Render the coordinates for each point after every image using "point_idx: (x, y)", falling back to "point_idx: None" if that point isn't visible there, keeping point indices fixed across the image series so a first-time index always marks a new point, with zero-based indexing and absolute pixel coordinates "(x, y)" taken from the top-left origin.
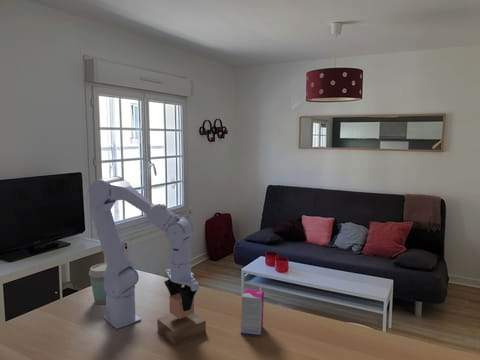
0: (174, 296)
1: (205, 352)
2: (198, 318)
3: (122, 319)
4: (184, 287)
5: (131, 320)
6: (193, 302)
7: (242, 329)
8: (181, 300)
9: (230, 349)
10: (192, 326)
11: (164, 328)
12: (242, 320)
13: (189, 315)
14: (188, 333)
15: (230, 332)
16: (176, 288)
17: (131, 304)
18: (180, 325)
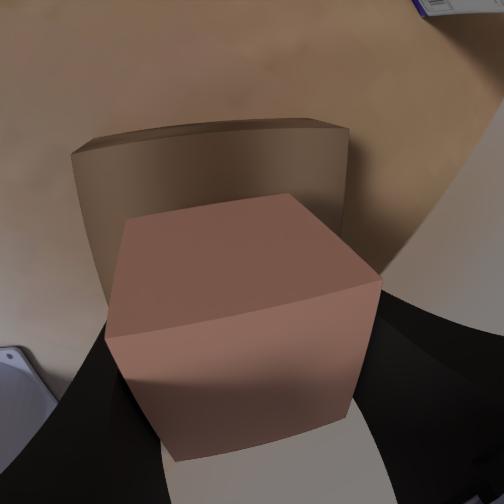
0: (208, 441)
1: (413, 213)
2: (289, 149)
3: (44, 420)
4: (452, 500)
5: (32, 385)
6: (339, 244)
7: (444, 14)
8: (338, 403)
9: (456, 129)
10: (338, 232)
11: None
12: (480, 11)
13: (202, 185)
14: None
15: (384, 28)
16: (142, 481)
17: (16, 443)
18: None
